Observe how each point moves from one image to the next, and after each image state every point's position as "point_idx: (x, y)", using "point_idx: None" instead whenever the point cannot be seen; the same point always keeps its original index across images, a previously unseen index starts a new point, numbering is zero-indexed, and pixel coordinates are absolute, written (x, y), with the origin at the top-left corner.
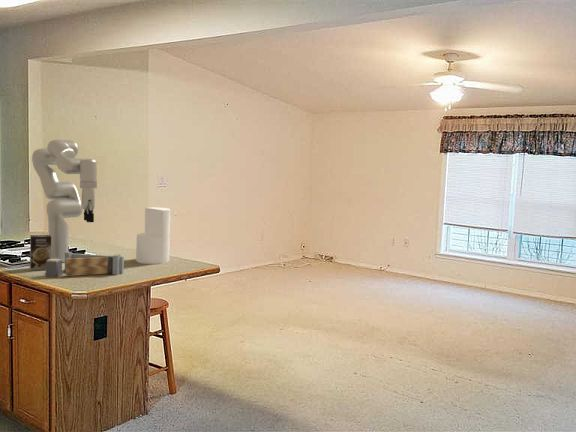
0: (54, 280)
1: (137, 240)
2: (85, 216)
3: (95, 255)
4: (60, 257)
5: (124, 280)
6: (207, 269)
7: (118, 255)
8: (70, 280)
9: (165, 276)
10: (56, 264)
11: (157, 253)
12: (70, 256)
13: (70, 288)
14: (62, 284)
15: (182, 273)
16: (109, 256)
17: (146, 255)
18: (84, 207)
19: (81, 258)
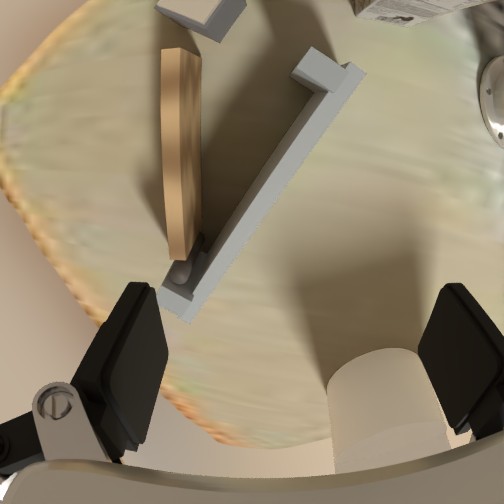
0: (125, 23)
1: (403, 408)
2: (462, 332)
3: (244, 213)
4: (499, 100)
5: (94, 260)
6: (217, 437)
7: (166, 307)
8: (111, 80)
9: None
10: (158, 10)
11: (330, 412)
12: (312, 81)
13: (18, 95)
14: (63, 61)
15: (178, 398)
16: (183, 271)
17: (347, 387)
18: (12, 484)
19: (162, 129)
